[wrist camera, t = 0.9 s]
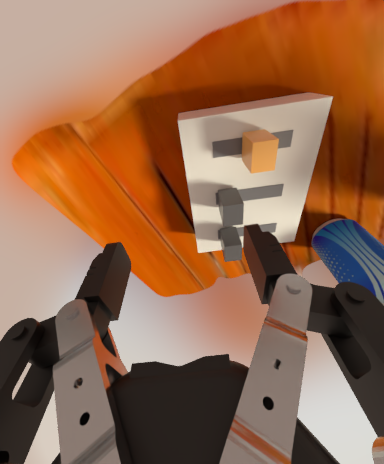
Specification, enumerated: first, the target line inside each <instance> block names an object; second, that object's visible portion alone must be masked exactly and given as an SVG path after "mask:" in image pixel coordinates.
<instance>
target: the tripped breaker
mask: <svg viewBox="0 0 384 464" xmlns="http://www.w3.org/2000/svg"><path fill="white" fill-rule="evenodd" d="M278 143H279V139H278V138H277V137H275V136H274V135H273V134H271V133H270V132H268V131H267V130H265V129H262V130H256V131H249V132H243V134H242V161H243V163H244V164H245V166H246V167H247V168H248V170H249V171H250V173H251V174H252V173H259V172H266V171H273V170H275V164H276V157H277V150H278Z"/></svg>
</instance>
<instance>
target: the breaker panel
mask: <svg viewBox="0 0 384 464" xmlns="http://www.w3.org/2000/svg"><path fill="white" fill-rule="evenodd" d="M332 99H333V96H328V95H322V94H316V93H310V92H307V93H301V94H295V95H289V96H282V97H276V98H270V99H263V100H257V101H251V102H245V103H238V104H232V105H226V106H219V107H213V108H207V109H201V110H194V111H188V112H182V113H178V126H179V133H180V139H181V145H182V152H183V158H184V164H185V171H186V177H187V184H188V190H189V196H190V203H191V209H192V215H193V222H194V228H195V234H196V241H197V247H198V253H201V252H209V251H218V250H222V247H221V241H220V229H221V228H229V227H236V229H237V232H238V234H239V237H240V240H241V243H242V247H243V236H244V225H251V224H259V226H260V228H261V230H262V232H266V231H269V232H270V233H272V234H273V235H274V236H275V237H276V238H277V240H278V242H279V243H283V242H291V241H294V240H295V236H296V233H297V229H298V225H299V221H300V218H301V214H302V210H303V207H304V203H305V199H306V195H307V192H308V188H309V184H310V181H311V177H312V173H313V169H314V166H315V162H316V158H317V155H318V151H319V147H320V143H321V140H322V136H323V132H324V129H325V125H326V121H327V118H328V114H329V110H330V106H331V103H332ZM262 129H265V130H267V131H268V132H270V133H271V134H273V135H274V136H275V137H277V138H278V139H279V143H278V150H277V157H276V164H275V170H273V171H266V172H259V173H252V174H251V173H250V171H249V170H248V168H247V167H246V166H245V164H244V163H243V161H242V134H243V132H249V131H256V130H262ZM229 188H237V190H238V192H239V194H240V196H241V199H242V201H243V203H244V212H243V224H241V225H233V226H226V227H224V226H223V223H222V219H221V215H220V212H219V202H218V190H222V189H229Z"/></svg>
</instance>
